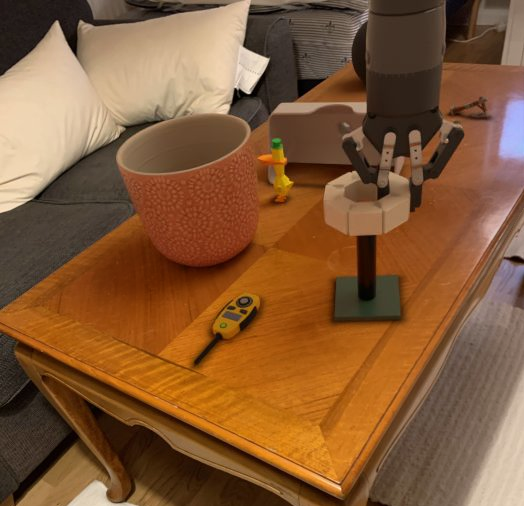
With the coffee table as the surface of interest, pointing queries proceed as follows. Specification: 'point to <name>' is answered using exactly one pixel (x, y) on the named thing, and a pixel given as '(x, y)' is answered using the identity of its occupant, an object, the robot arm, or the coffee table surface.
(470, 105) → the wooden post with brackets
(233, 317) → the yellow handheld probe meter
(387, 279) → the peg stand
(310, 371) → the coffee table surface
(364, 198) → the ring
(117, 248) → the coffee table surface
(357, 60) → the decorative egg
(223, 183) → the planter
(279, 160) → the toy figure
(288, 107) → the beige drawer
